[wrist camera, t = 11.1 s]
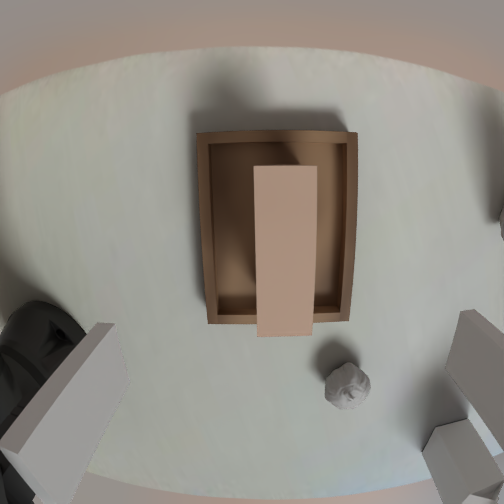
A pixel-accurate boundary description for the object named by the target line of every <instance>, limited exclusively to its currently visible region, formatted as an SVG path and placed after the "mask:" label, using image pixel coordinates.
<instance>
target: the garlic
mask: <svg viewBox="0 0 504 504" xmlns="http://www.w3.org/2000/svg"><path fill="white" fill-rule="evenodd" d="M370 388H371V386H370V380H369V378H368V376H367V375H366V374H365V373H364V372H363V371H362V370H361V369H359V368H358V367H356V366H355V365H354V364H353V363H350V362H348V363H345V364H343V365H342V366H341V367H340V368H338V369H335V370H334V371H333V372H332V373H331V374H330V375H329V376H328V377H327V378H326V385H325V398H326V400H327V401H329V402H331V403H332V404H333V405H334V406H336V407H337V408H339V409H350V408H351V409H354V408H356V407H357V406H359V405H360V404H361V403H362V402H363V401H364V400H365V399H366V397H367V396H368V394H369V392H370Z"/></svg>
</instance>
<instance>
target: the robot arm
mask: <svg viewBox="0 0 504 504" xmlns="http://www.w3.org/2000/svg"><path fill="white" fill-rule="evenodd" d="M445 369H446V371H447V372H448V373H449V375H450V376H451V377H452V378H453V380H454V381H455V382H456V384H457V385H458V387H459V388H460V389H461V391H462V392H463V393H464V395H465V396H466V397H467V399H468V400H469V402H470V403H471V404H472V406H473V407H474V408H475V410H476V411H477V413H478V414H479V416H480V417H481V418H482V420H483V421H484V423H485V424H486V426H487V427H488V429H489V430H490V431H491V433H492V434H493V436H494V437H495V439H496V440H497V442H498V443H499V445H500V446H501V448H502V449H503V451H504V334H503V333H502V332H501V331H500V330H499V329H497V328H496V327H495V326H494V325H493V324H491V323H490V322H489V321H488V320H487V319H486V318H484V317H483V316H482V315H481V314H480V313H478V312H477V311H476V310H475V309H473V310H466V311H461V312H460V316H459V320H458V324H457V328H456V332H455V336H454V339H453V343H452V346H451V350H450V353H449V357H448V360H447V363H446V366H445ZM129 384H130V379H129V376H128V372H127V369H126V365H125V362H124V358H123V354H122V350H121V346H120V342H119V338H118V334H117V330H116V326H115V324H113V323H97V324H96V325H95V326H94V327H93V328H92V329H91V330H90V332H89V333H88V334H87V335H86V334H85V333H84V331H83V330H82V329H81V328H80V326H79V325H78V324H77V323H76V322H75V321H74V320H73V319H72V318H71V317H69V316H68V315H67V314H66V313H64V312H63V311H62V310H60V309H58V308H57V307H55V306H53V305H51V304H48V303H45V302H40V301H32V302H28V303H26V304H24V305H22V306H21V307H20V308H18V309H17V310H16V311H14V312H13V314H12V315H11V316H10V317H9V319H8V322H7V324H6V325H5V327H4V329H3V331H2V332H1V334H0V504H34V502H33V501H32V500H33V498H34V496H35V495H37V496H38V498H39V499H40V500H41V501H42V502H43V503H44V504H70V503H71V500H72V498H73V496H74V494H75V492H76V490H77V487H78V485H79V483H80V481H81V479H82V477H83V475H84V473H85V471H86V469H87V467H88V465H89V462H90V460H91V458H92V456H93V454H94V452H95V450H96V448H97V446H98V444H99V442H100V440H101V438H102V436H103V434H104V432H105V430H106V428H107V426H108V424H109V422H110V420H111V418H112V417H113V415H114V413H115V411H116V409H117V407H118V405H119V403H120V401H121V399H122V397H123V395H124V393H125V392H126V390H127V388H128V386H129Z"/></svg>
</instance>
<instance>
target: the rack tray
mask: <svg viewBox="0 0 504 504" xmlns="http://www.w3.org/2000/svg"><path fill="white" fill-rule="evenodd" d="M196 134H197V166H198V190H199V210H200V228H201V243H202V258H203V272H204V285H205V297H206V308H207V319H208V324H257V296H256V249H255V205H254V166H255V165H272V164H301V165H312V166H317V236H316V268H315V290H314V309H313V323H317V322H339V321H349V315H350V306H351V296H352V285H353V273H354V260H355V245H356V226H357V197H358V133H356V132H339V131H312V130H253V131H226V132H208V133H196Z"/></svg>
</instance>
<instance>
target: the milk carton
mask: <svg viewBox="0 0 504 504" xmlns="http://www.w3.org/2000/svg"><path fill="white" fill-rule="evenodd" d="M422 455H423V457H424V460H425V462H426V464H427V467H428V469H429V471H430V473H431V476H432V478H433V480H434V483H435V485H436V487H437V490H438V492H439V495H440V497H441V499H442V502H443V504H498V503H497V502H498V500H499V497H498V495H499V492H500V490H501V488H502V486H503V483H504V476H503V474H502V472H501V470H500V469H499V467H498V465H497V463H496V462H495V460H494V458H493V457H492V455H491V454H490V452H489V450H488V449H487V447H486V445H485V444H484V442H483V441H482V439H481V437H480V436H479V434H478V433H477V431H476V429H475V428H474V426H473V425H472V423H471V422H470V420H469V419H465V420H462V421H458V422H454V423H450V424H447V425H443V426H439V427H435V429H434V431H433V433H432V435H431V437H430V439H429V441H428V443H427V445H426V446H425V448H424V450H423V452H422Z"/></svg>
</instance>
